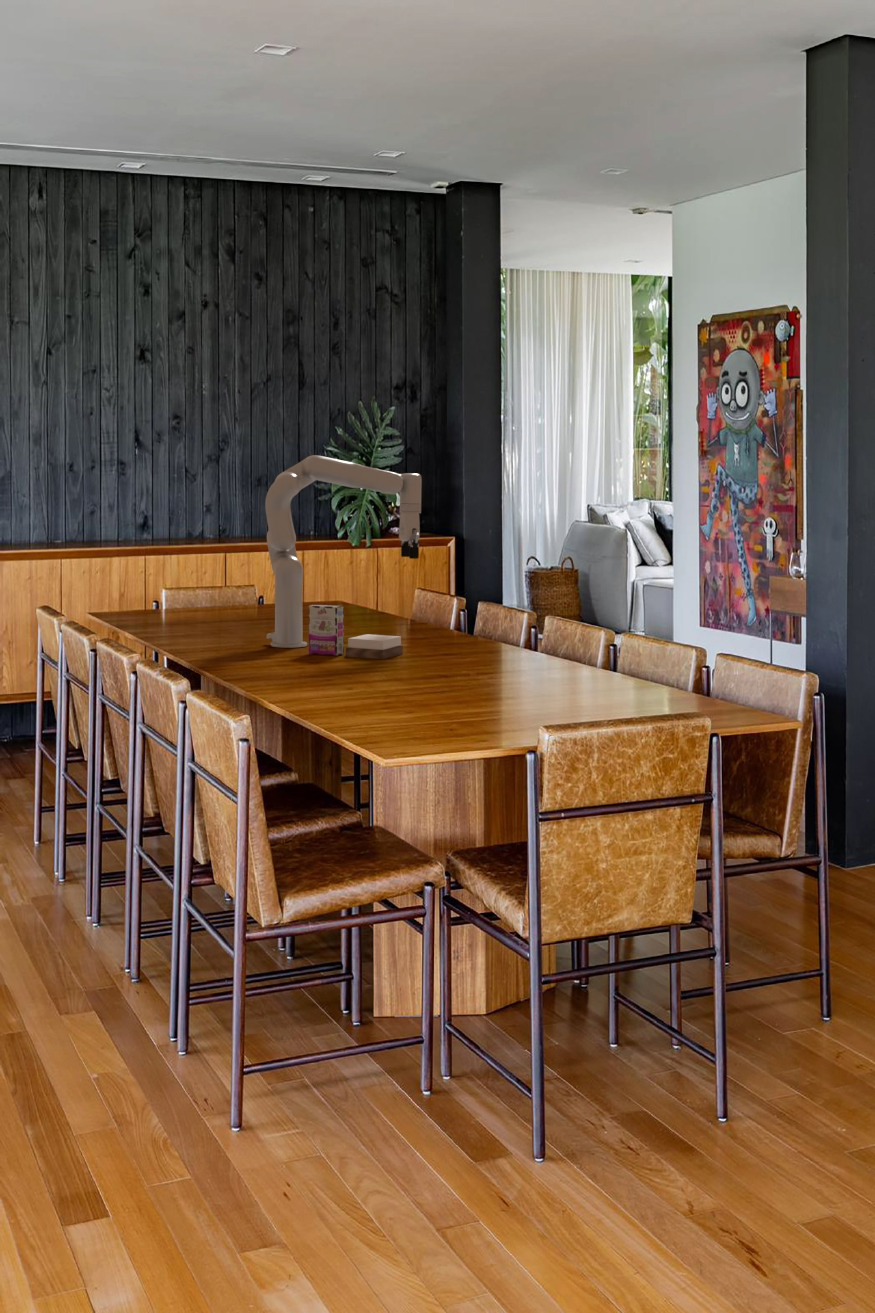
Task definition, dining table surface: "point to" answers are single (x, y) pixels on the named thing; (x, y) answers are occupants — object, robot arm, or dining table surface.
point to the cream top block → (374, 641)
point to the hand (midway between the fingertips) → (409, 557)
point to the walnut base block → (374, 652)
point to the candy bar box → (326, 630)
